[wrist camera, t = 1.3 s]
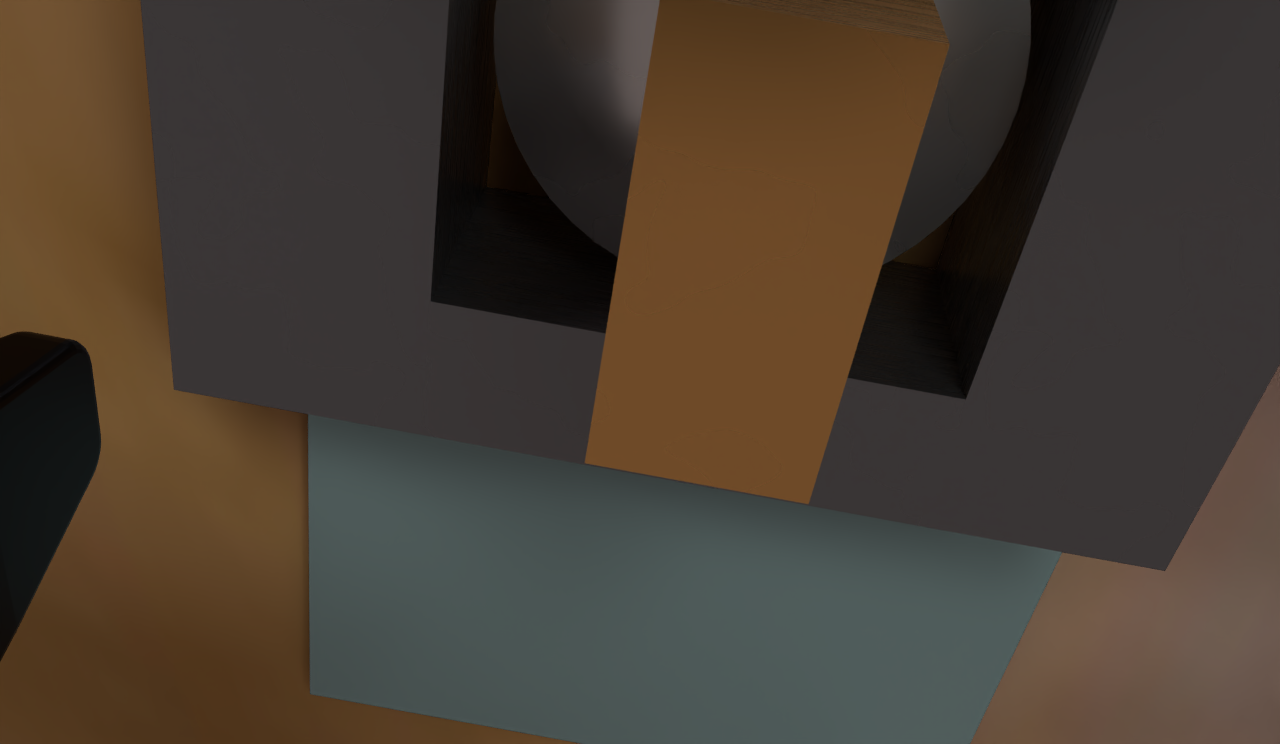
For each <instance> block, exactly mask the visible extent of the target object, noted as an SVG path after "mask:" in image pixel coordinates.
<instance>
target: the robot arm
mask: <svg viewBox="0 0 1280 744" xmlns="http://www.w3.org/2000/svg"><path fill="white" fill-rule="evenodd" d="M100 448H101V434H100V426H99V418H98V410H97V402H96V395H95V387H94V379H93V371H92V364H91V360H90V356H89V354H88V352H87V350H86V348H85V347H84V346H83V345H81V344H80V343H79V342H77V341H75V340H71V339H65V338H60V337H55V336H49V335H44V334H39V333H33V332H16V333H13V334H10V335H7V336H4V337H2V338H0V661H1V659H2V657H3V656H4V654H5V652H6V650H7V648H8V646H9V644H10V642H11V640H12V639H13V637H14V635H15V633H16V631H17V629H18V627H19V625H20V623H21V621H22V619H23V617H24V615H25V613H26V611H27V609H28V607H29V605H30V603H31V601H32V599H33V597H34V595H35V593H36V591H37V589H38V586H39V584H40V582H41V580H42V578H43V576H44V574H45V572H46V570H47V568H48V566H49V564H50V562H51V560H52V558H53V556H54V554H55V552H56V550H57V548H58V546H59V544H60V542H61V540H62V538H63V536H64V534H65V532H66V530H67V528H68V526H69V523H70V521H71V519H72V517H73V515H74V513H75V511H76V509H77V507H78V505H79V503H80V501H81V499H82V497H83V495H84V493H85V491H86V489H87V487H88V485H89V483H90V481H91V479H92V477H93V474H94V472H95V470H96V467H97V463H98V460H99V455H100Z"/></svg>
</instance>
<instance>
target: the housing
mask: <svg viewBox="0 0 1280 744" xmlns="http://www.w3.org/2000/svg"><path fill="white" fill-rule="evenodd" d="M496 3H497V0H141V10H142V22H143V34H144V45H145V57H146V69H147V80H148V92H149V104H150V115H151V127H152V139H153V150H154V162H155V174H156V185H157V197H158V209H159V220H160V232H161V244H162V255H163V267H164V279H165V290H166V302H167V314H168V325H169V337H170V349H171V360H172V372H173V384H174V390H179V391H184V392H190V393H195V394H201V395H206V396H212V397H217V398H223V399H228V400H233V401H239V402H244V403H250V404H255V405H261V406H266V407H272V408H277V409H283V410H288V411H294V412H299V413H305V414H310V415H315V416H321V417H326V418H332V419H337V420H343V421H348V422H354V423H359V424H365V425H370V426H376V427H381V428H386V429H392V430H397V431H403V432H408V433H414V434H419V435H425V436H430V437H436V438H441V439H447V440H452V441H458V442H463V443H468V444H474V445H479V446H485V447H490V448H496V449H501V450H507V451H512V452H518V453H523V454H529V455H534V456H539V457H545V458H550V459H556V460H561V461H567V462H572V463H578V464H583V465H589V466H594V467H600V468H605V469H611V470H616V471H621V472H627V473H632V474H638V475H643V476H649V477H654V478H660V479H665V480H671V481H676V482H682V483H687V484H692V485H698V486H703V487H709V488H714V489H720V490H725V491H731V492H736V493H742V494H747V495H753V496H758V497H763V498H769V499H774V500H780V501H785V502H791V503H796V504H802V505H807V506H813V507H818V508H824V509H829V510H835V511H840V512H845V513H851V514H856V515H862V516H867V517H873V518H878V519H884V520H889V521H895V522H900V523H906V524H911V525H916V526H922V527H927V528H933V529H938V530H944V531H949V532H955V533H960V534H966V535H971V536H977V537H982V538H988V539H993V540H998V541H1004V542H1009V543H1015V544H1020V545H1026V546H1031V547H1037V548H1042V549H1048V550H1053V551H1059V552H1064V553H1069V554H1075V555H1080V556H1086V557H1091V558H1097V559H1102V560H1108V561H1113V562H1119V563H1124V564H1130V565H1135V566H1141V567H1146V568H1151V569H1157V570H1162V571H1165V570H1166V568H1167V566H1168V565H1169V563H1170V561H1171V559H1172V557H1173V556H1174V554H1175V552H1176V550H1177V548H1178V547H1179V545H1180V543H1181V541H1182V539H1183V538H1184V536H1185V534H1186V532H1187V530H1188V529H1189V527H1190V525H1191V523H1192V521H1193V520H1194V518H1195V516H1196V514H1197V512H1198V511H1199V509H1200V507H1201V505H1202V503H1203V502H1204V500H1205V498H1206V496H1207V494H1208V493H1209V491H1210V489H1211V487H1212V485H1213V484H1214V482H1215V480H1216V478H1217V476H1218V474H1219V473H1220V471H1221V469H1222V467H1223V465H1224V464H1225V462H1226V460H1227V458H1228V456H1229V455H1230V453H1231V451H1232V449H1233V447H1234V446H1235V444H1236V442H1237V440H1238V438H1239V437H1240V435H1241V433H1242V431H1243V429H1244V428H1245V426H1246V424H1247V422H1248V420H1249V419H1250V417H1251V415H1252V413H1253V411H1254V410H1255V408H1256V406H1257V404H1258V402H1259V401H1260V399H1261V397H1262V395H1263V393H1264V392H1265V390H1266V388H1267V386H1268V384H1269V383H1270V381H1271V379H1272V377H1273V375H1274V374H1275V372H1276V370H1277V368H1278V366H1279V364H1280V0H1030V7H1031V46H1030V53H1029V60H1028V67H1027V74H1026V80H1025V84H1024V88H1023V91H1022V95H1021V98H1020V102H1019V105H1018V109H1017V113H1016V115H1015V117H1014V120H1013V122H1012V124H1011V127H1010V129H1009V132H1008V134H1007V136H1006V139H1005V141H1004V143H1003V145H1002V147H1001V149H1000V150H999V152H998V154H997V156H996V157H995V159H994V161H993V162H992V164H991V166H990V167H989V169H988V171H987V173H986V174H985V175H984V177H983V178H982V179H981V181H980V182H979V183H978V185H977V186H976V187H975V189H974V190H973V191H972V192H971V194H970V195H969V196H968V198H967V199H966V200H965V201H964V202H963V203H962V204H961V205H960V206H959V207H958V208H957V209H956V212H955V215H954V218H953V221H952V224H951V227H950V230H949V233H948V236H947V239H946V241H945V244H944V247H943V250H942V253H941V256H940V259H939V262H938V265H937V268H936V269H932V268H926V267H921V266H915V265H910V264H904V263H899V262H893V261H889V262H887V263H885V264H883V265H882V267H881V270H880V273H879V277H878V280H877V283H876V286H875V290H874V293H873V296H872V299H871V303H870V306H869V309H868V312H867V316H866V319H865V322H864V325H863V329H862V332H861V335H860V338H859V342H858V345H857V348H856V351H855V355H854V358H853V361H852V364H851V368H850V371H849V374H848V377H847V381H846V384H845V387H844V390H843V394H842V397H841V400H840V404H839V407H838V410H837V413H836V417H835V420H834V423H833V426H832V430H831V433H830V436H829V439H828V443H827V446H826V449H825V452H824V456H823V459H822V462H821V465H820V469H819V472H818V475H817V478H816V482H815V485H814V488H813V491H812V495H811V498H810V501H809V504H805V503H799V502H794V501H788V500H783V499H777V498H772V497H766V496H761V495H755V494H750V493H745V492H739V491H734V490H728V489H723V488H717V487H712V486H706V485H701V484H696V483H690V482H685V481H679V480H674V479H668V478H663V477H657V476H652V475H646V474H641V473H636V472H630V471H625V470H619V469H614V468H608V467H603V466H597V465H592V464H586V463H585V458H586V452H587V446H588V440H589V433H590V427H591V421H592V415H593V409H594V403H595V396H596V390H597V384H598V378H599V372H600V366H601V359H602V353H603V347H604V341H605V335H606V329H607V322H608V316H609V310H610V304H611V298H612V292H613V285H614V279H615V273H616V267H617V261H618V257H617V256H615V255H614V254H612V253H611V252H609V251H608V250H606V249H605V248H603V247H602V246H600V245H599V244H597V243H596V242H594V241H593V240H592V239H591V238H590V237H589V236H587V235H586V234H585V233H584V232H583V231H582V230H580V229H579V228H578V227H577V226H576V225H575V224H573V223H572V222H571V221H570V220H569V219H568V218H567V216H566V215H565V214H564V213H563V212H562V211H561V210H560V209H559V208H558V207H557V206H556V204H555V203H554V202H553V201H552V200H551V199H550V198H545V197H540V196H534V195H529V194H523V193H518V192H513V191H507V190H502V189H496V188H491V187H487V176H488V164H489V153H490V141H491V130H492V118H493V107H494V95H495V84H496V66H495V57H494V16H495V9H496Z"/></svg>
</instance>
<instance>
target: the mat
mask: <svg viewBox="0 0 1280 744" xmlns="http://www.w3.org/2000/svg"><path fill="white" fill-rule="evenodd" d="M308 484H309V623H310V694H313V695H318V696H324V697H329V698H335V699H340V700H345V701H351V702H356V703H362V704H367V705H373V706H378V707H384V708H389V709H395V710H400V711H406V712H411V713H417V714H422V715H428V716H433V717H439V718H444V719H450V720H455V721H461V722H466V723H472V724H477V725H483V726H488V727H494V728H499V729H505V730H510V731H516V732H521V733H527V734H532V735H538V736H543V737H549V738H554V739H560V740H565V741H571V742H576V743H582V744H970V743H971V741H972V738H973V736H974V734H975V732H976V730H977V728H978V726H979V724H980V722H981V720H982V718H983V716H984V714H985V711H986V709H987V707H988V705H989V703H990V701H991V699H992V697H993V695H994V693H995V691H996V689H997V687H998V684H999V682H1000V680H1001V678H1002V676H1003V674H1004V672H1005V670H1006V668H1007V666H1008V664H1009V662H1010V660H1011V657H1012V655H1013V653H1014V651H1015V649H1016V647H1017V645H1018V643H1019V641H1020V639H1021V637H1022V635H1023V632H1024V630H1025V628H1026V626H1027V624H1028V622H1029V620H1030V618H1031V616H1032V614H1033V612H1034V610H1035V608H1036V605H1037V603H1038V601H1039V599H1040V597H1041V595H1042V593H1043V591H1044V589H1045V587H1046V585H1047V583H1048V581H1049V578H1050V576H1051V574H1052V572H1053V570H1054V568H1055V566H1056V564H1057V562H1058V560H1059V558H1060V556H1061V553H1062V552H1059V551H1053V550H1048V549H1042V548H1037V547H1031V546H1026V545H1020V544H1015V543H1009V542H1004V541H998V540H993V539H988V538H982V537H977V536H971V535H966V534H960V533H955V532H949V531H944V530H938V529H933V528H927V527H922V526H916V525H911V524H906V523H900V522H895V521H889V520H884V519H878V518H873V517H867V516H862V515H856V514H851V513H845V512H840V511H835V510H829V509H824V508H818V507H813V506H807V505H802V504H796V503H791V502H785V501H780V500H774V499H769V498H763V497H758V496H753V495H747V494H742V493H736V492H731V491H725V490H720V489H714V488H709V487H703V486H698V485H692V484H687V483H682V482H676V481H671V480H665V479H660V478H654V477H649V476H643V475H638V474H632V473H627V472H621V471H616V470H611V469H605V468H600V467H594V466H589V465H583V464H578V463H572V462H567V461H561V460H556V459H550V458H545V457H539V456H534V455H529V454H523V453H518V452H512V451H507V450H501V449H496V448H490V447H485V446H479V445H474V444H468V443H463V442H458V441H452V440H447V439H441V438H436V437H430V436H425V435H419V434H414V433H408V432H403V431H397V430H392V429H386V428H381V427H376V426H370V425H365V424H359V423H354V422H348V421H343V420H337V419H332V418H326V417H321V416H315V415H310V414H308Z"/></svg>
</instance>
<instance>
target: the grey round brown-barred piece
mask: <svg viewBox="0 0 1280 744" xmlns="http://www.w3.org/2000/svg"><path fill="white" fill-rule="evenodd" d="M1030 46H1031V7H1030V0H497V3H496V9H495V16H494V57H495V66H496V75H497V83H498V88H499V92H500V96H501V100H502V104H503V108H504V112H505V116H506V118H507V121H508V123H509V126H510V129H511V131H512V134H513V136H514V139H515V141H516V144H517V146H518V148H519V150H520V152H521V154H522V156H523V157H524V159H525V161H526V163H527V165H528V167H529V168H530V170H531V172H532V174H533V175H534V177H535V178H536V179H537V181H538V182H539V184H540V185H541V186H542V188H543V189H544V191H545V192H546V193H547V195H548V196H549V198H550V199H551V200H552V201H553V202H554V203H555V204H556V206H557V207H558V208H559V209H560V210H561V211H562V212H563V213H564V214H565V215H566V216H567V218H568V219H569V220H570V221H571V222H572V223H573V224H575V225H576V226H577V227H578V228H579V229H580V230H582V231H583V232H584V233H585V234H586V235H587V236H589V237H590V238H591V239H592V240H593V241H594V242H596V243H597V244H599V245H600V246H602V247H603V248H605V249H606V250H608V251H609V252H611V253H612V254H614V255H615V256H617V257H618V261H617V267H616V273H615V279H614V285H613V292H612V298H611V304H610V310H609V316H608V322H607V329H606V335H605V341H604V347H603V353H602V359H601V366H600V372H599V378H598V384H597V390H596V396H595V403H594V409H593V415H592V421H591V427H590V433H589V440H588V446H587V452H586V458H585V463H586V464H592V465H597V466H603V467H608V468H614V469H619V470H625V471H630V472H636V473H641V474H646V475H652V476H657V477H663V478H668V479H674V480H679V481H685V482H690V483H696V484H701V485H706V486H712V487H717V488H723V489H728V490H734V491H739V492H745V493H750V494H755V495H761V496H766V497H772V498H777V499H783V500H788V501H794V502H799V503H805V504H809V501H810V498H811V495H812V491H813V488H814V485H815V482H816V478H817V475H818V472H819V469H820V465H821V462H822V459H823V456H824V452H825V449H826V446H827V443H828V439H829V436H830V433H831V430H832V426H833V423H834V420H835V417H836V413H837V410H838V407H839V404H840V400H841V397H842V394H843V390H844V387H845V384H846V381H847V377H848V374H849V371H850V368H851V364H852V361H853V358H854V355H855V351H856V348H857V345H858V342H859V338H860V335H861V332H862V329H863V325H864V322H865V319H866V316H867V312H868V309H869V306H870V303H871V299H872V296H873V293H874V290H875V286H876V283H877V280H878V277H879V273H880V270H881V267H882V265H883V264H885V263H887V262H889V261H891V260H893V259H894V258H896V257H897V256H899V255H901V254H902V253H904V252H905V251H907V250H909V249H910V248H912V247H913V246H915V245H917V244H918V243H919V242H920V241H922V240H923V239H924V238H925V237H927V236H928V235H929V234H930V233H932V232H933V231H934V230H935V229H937V228H938V227H939V226H940V225H942V224H943V223H944V222H945V221H946V220H947V219H948V218H949V217H950V216H951V215H952V213H953V212H954V211H955V210H956V209H957V208H958V207H959V206H960V205H961V204H962V203H963V202H964V201H965V200H966V199H967V198H968V196H969V195H970V194H971V192H972V191H973V190H974V189H975V187H976V186H977V185H978V183H979V182H980V181H981V179H982V178H983V177H984V175H985V174H986V173H987V171H988V169H989V167H990V166H991V164H992V162H993V161H994V159H995V157H996V156H997V154H998V152H999V150H1000V149H1001V147H1002V145H1003V143H1004V141H1005V139H1006V136H1007V134H1008V132H1009V129H1010V127H1011V124H1012V122H1013V120H1014V117H1015V115H1016V113H1017V109H1018V105H1019V102H1020V98H1021V95H1022V91H1023V88H1024V84H1025V80H1026V74H1027V67H1028V60H1029V53H1030Z"/></svg>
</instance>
